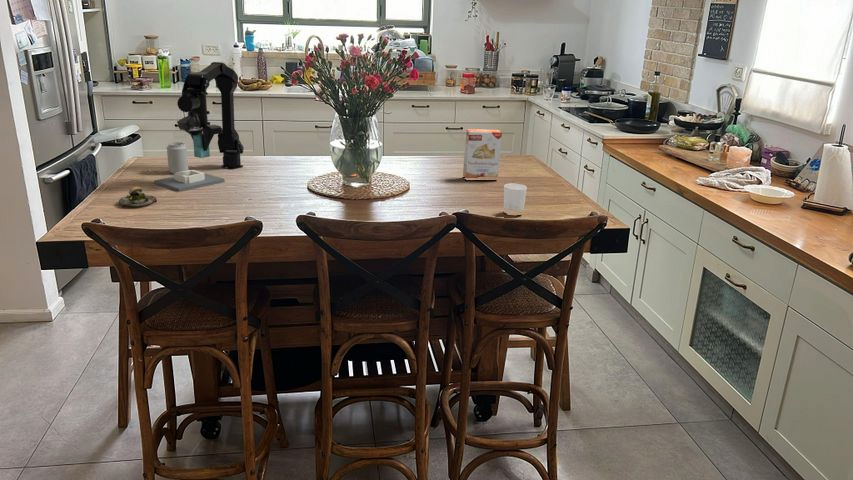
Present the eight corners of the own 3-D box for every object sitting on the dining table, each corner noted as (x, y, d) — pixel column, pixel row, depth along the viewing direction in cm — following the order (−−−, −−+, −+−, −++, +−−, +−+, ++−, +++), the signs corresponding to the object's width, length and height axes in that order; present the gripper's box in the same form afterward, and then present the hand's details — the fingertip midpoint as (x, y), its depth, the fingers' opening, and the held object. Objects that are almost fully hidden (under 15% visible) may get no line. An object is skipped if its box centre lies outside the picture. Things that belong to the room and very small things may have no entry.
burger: (118, 210, 220) (116, 189, 217) (119, 201, 230) (116, 180, 227) (157, 208, 224) (155, 186, 222) (156, 198, 234) (154, 177, 232)
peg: (203, 154, 254) (201, 134, 252) (209, 156, 252) (208, 135, 250) (194, 156, 251) (192, 135, 249) (201, 158, 249) (199, 137, 247)
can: (191, 170, 271) (189, 141, 267) (183, 175, 264) (181, 145, 260) (174, 169, 271) (171, 140, 267) (165, 174, 264) (162, 144, 260)
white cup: (500, 210, 238) (502, 183, 235) (521, 210, 239) (524, 183, 236) (504, 216, 231) (506, 189, 228) (526, 217, 232) (529, 189, 228)
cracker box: (465, 181, 274) (468, 131, 267) (462, 177, 280) (465, 128, 273) (498, 181, 277) (502, 131, 269) (494, 177, 282) (498, 129, 275)
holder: (199, 174, 266) (198, 165, 265) (224, 181, 257) (224, 172, 256) (154, 183, 251) (153, 174, 250) (179, 191, 242) (178, 182, 241)
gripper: (164, 107, 244) (167, 149, 250) (196, 113, 235) (199, 157, 240) (190, 104, 253) (193, 145, 258) (221, 110, 243) (224, 152, 248)
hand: (201, 149), depth 251 cm, fingers closed on peg, 4 cm apart
